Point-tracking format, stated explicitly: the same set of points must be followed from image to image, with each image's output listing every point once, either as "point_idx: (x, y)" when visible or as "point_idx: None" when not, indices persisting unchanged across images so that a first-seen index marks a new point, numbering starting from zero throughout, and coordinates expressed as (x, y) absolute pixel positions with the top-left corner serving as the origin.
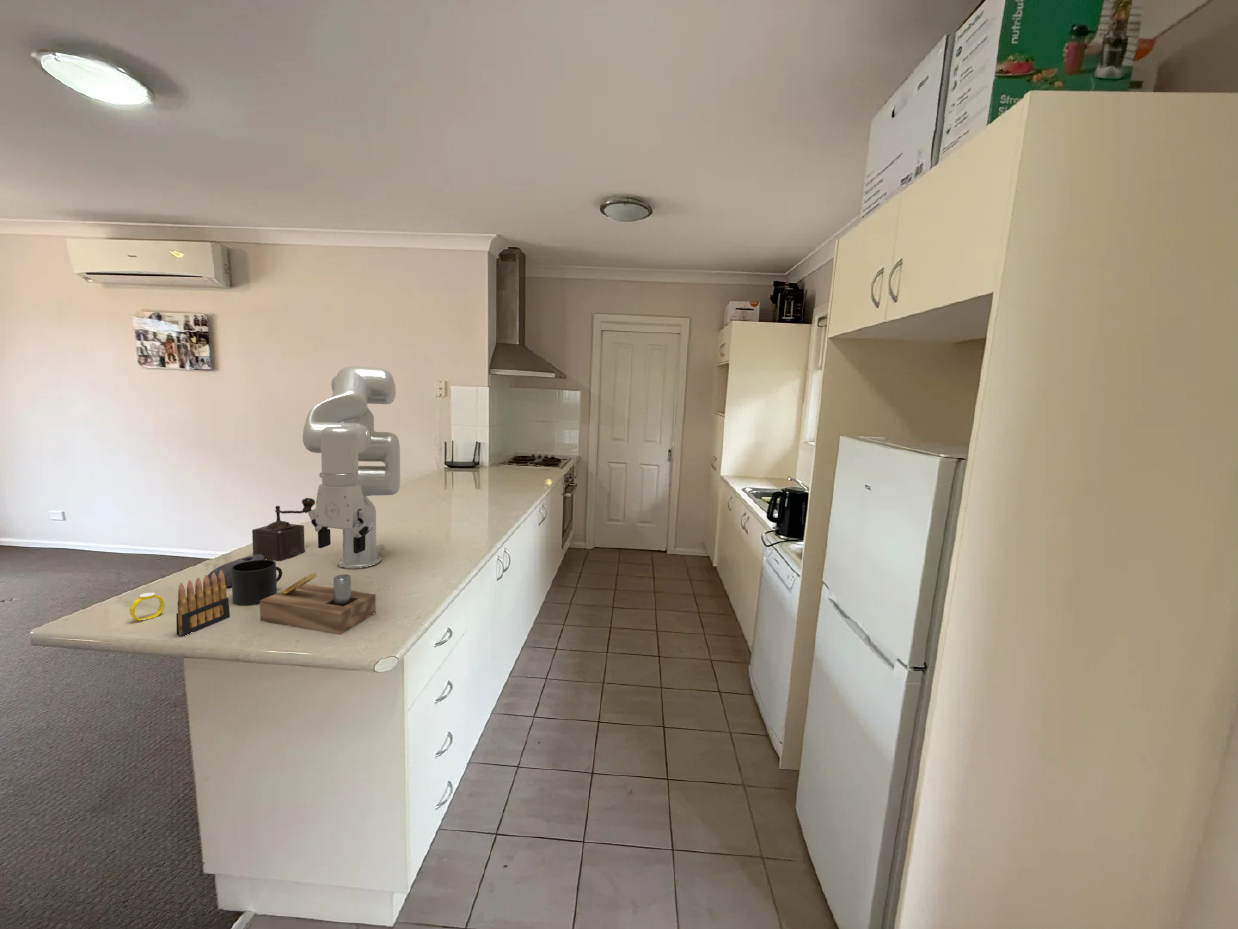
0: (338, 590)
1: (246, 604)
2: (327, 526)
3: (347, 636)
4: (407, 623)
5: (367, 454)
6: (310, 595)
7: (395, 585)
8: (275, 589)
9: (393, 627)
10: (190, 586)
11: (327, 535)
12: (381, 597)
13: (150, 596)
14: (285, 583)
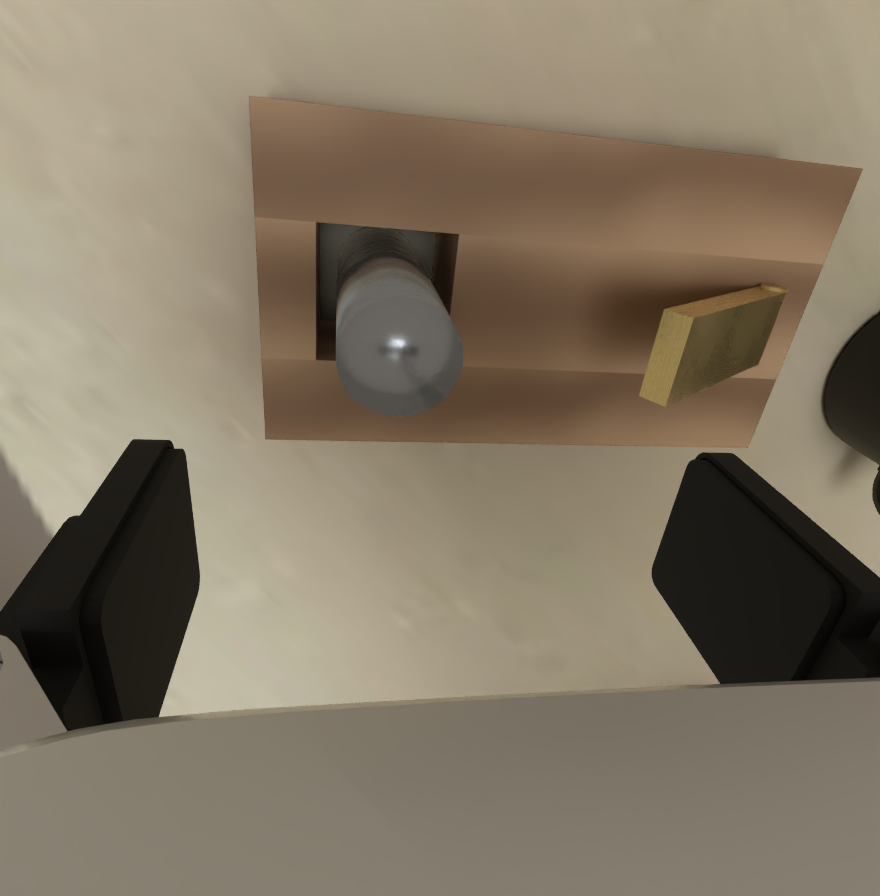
0: (382, 275)
1: None
2: (779, 684)
3: (207, 84)
4: (17, 330)
5: None
6: (617, 319)
7: (398, 640)
8: (850, 421)
9: (48, 264)
10: None
11: (733, 637)
12: (375, 535)
13: None
14: (840, 524)
